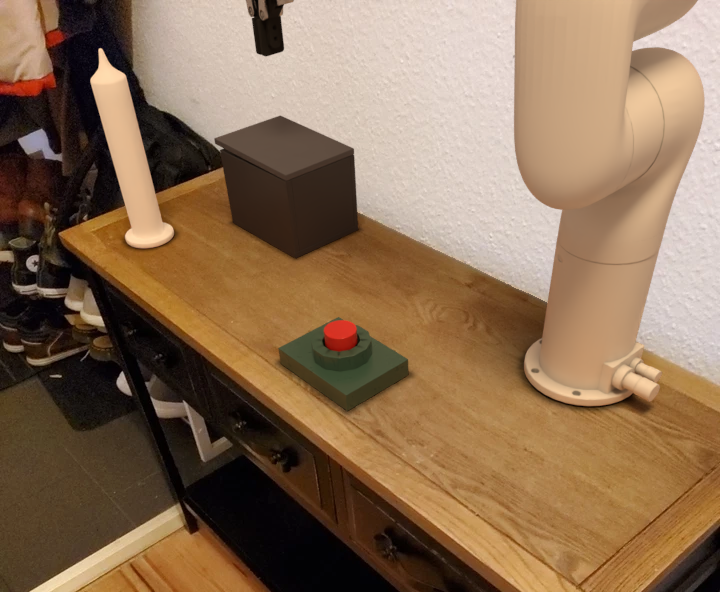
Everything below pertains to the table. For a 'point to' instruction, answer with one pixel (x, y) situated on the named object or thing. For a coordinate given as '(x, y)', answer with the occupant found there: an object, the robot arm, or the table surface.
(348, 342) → the red button
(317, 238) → the open storage bin
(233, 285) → the table surface
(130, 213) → the candle
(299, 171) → the lid
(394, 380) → the control block
